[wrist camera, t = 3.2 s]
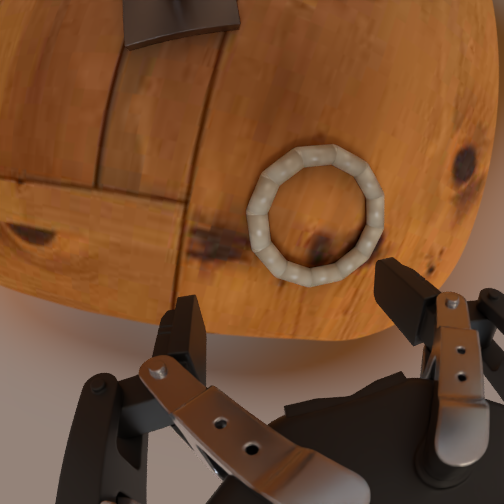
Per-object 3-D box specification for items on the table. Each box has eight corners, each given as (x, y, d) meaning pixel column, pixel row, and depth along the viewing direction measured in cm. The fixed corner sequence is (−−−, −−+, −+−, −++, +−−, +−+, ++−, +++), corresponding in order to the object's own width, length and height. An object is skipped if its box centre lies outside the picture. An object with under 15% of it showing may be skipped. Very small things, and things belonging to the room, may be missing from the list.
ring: (257, 291, 23) (259, 300, 22) (236, 154, 19) (238, 155, 18) (376, 266, 24) (384, 273, 23) (375, 141, 20) (385, 142, 18)
